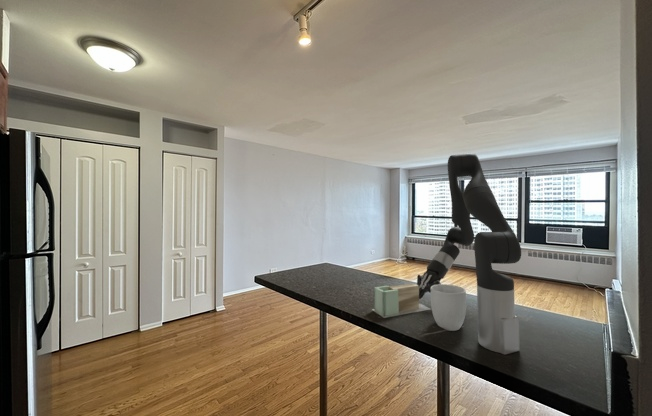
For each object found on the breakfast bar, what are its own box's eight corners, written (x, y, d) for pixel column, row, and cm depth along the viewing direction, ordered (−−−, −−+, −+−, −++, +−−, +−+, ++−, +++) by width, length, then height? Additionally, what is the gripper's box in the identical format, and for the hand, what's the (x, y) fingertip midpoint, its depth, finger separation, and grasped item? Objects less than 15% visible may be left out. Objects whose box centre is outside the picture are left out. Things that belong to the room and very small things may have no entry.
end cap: (398, 313, 100) (398, 290, 101) (383, 316, 98) (383, 292, 98) (388, 307, 107) (388, 285, 107) (374, 310, 104) (374, 287, 105)
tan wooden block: (419, 308, 106) (418, 285, 106) (393, 312, 102) (393, 289, 102) (413, 305, 109) (413, 283, 109) (388, 309, 105) (388, 286, 105)
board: (431, 310, 104) (431, 309, 104) (383, 319, 97) (383, 317, 97) (416, 303, 113) (416, 301, 113) (371, 310, 105) (371, 309, 105)
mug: (451, 315, 99) (450, 280, 99) (480, 326, 90) (479, 288, 90) (424, 324, 92) (423, 287, 92) (453, 337, 82) (452, 295, 83)
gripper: (424, 256, 117) (401, 287, 113) (447, 261, 105) (423, 296, 101) (434, 267, 119) (412, 298, 115) (457, 273, 107) (434, 308, 102)
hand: (417, 297), depth 108 cm, fingers closed
